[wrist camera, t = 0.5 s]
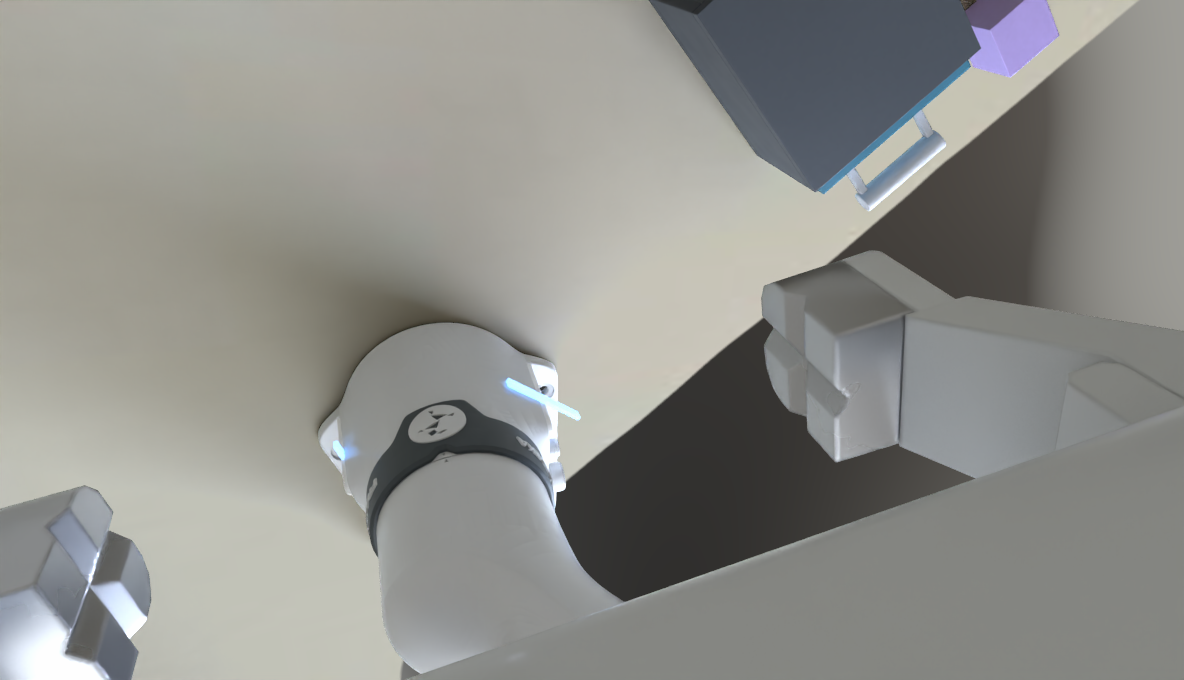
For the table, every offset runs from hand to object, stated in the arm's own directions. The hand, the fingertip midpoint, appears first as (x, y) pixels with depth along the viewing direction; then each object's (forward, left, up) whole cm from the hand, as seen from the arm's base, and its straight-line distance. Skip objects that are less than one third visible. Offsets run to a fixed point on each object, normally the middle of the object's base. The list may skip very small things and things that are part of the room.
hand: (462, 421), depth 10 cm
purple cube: (-11, -44, -45) cm, 64 cm away
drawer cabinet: (-6, -27, -45) cm, 53 cm away
